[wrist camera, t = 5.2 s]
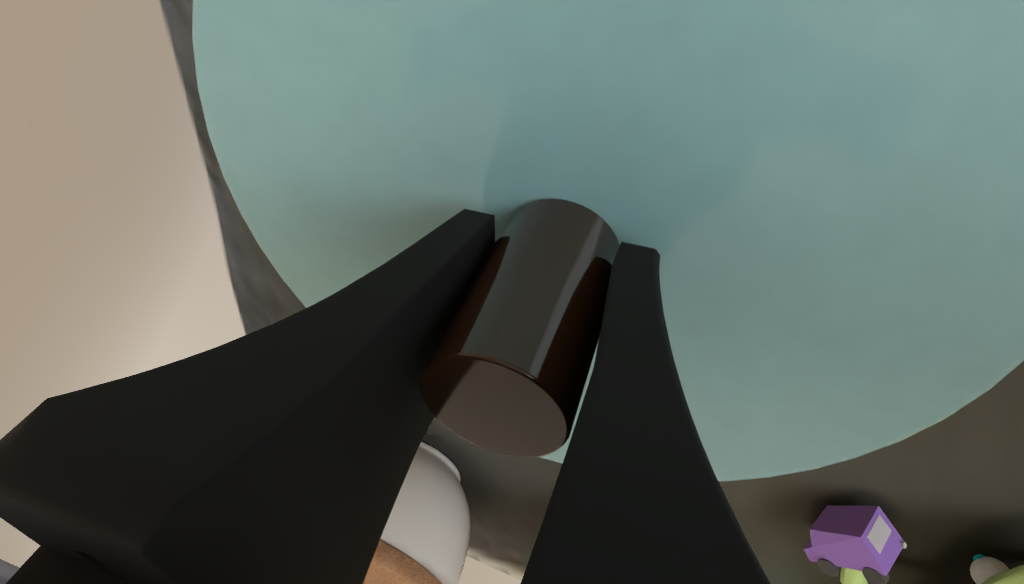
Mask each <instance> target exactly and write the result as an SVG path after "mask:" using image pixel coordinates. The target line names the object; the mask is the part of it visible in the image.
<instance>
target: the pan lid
mask: <svg viewBox="0 0 1024 584" xmlns="http://www.w3.org/2000/svg"><path fill="white" fill-rule="evenodd" d="M192 41H193V50H194V59H195V68H196V77H197V86H198V91H199V96H200V100H201V104H202V109H203V113H204V117H205V122H206V126H207V130H208V134H209V137H210V140H211V143H212V146H213V148H214V151H215V154H216V157H217V160H218V163H219V166H220V169H221V172H222V174H223V177H224V179H225V181H226V183H227V185H228V187H229V190H230V192H231V194H232V196H233V198H234V200H235V203H236V205H237V207H238V209H239V211H240V213H241V215H242V217H243V218H244V220H245V222H246V224H247V225H248V227H249V229H250V231H251V232H252V234H253V236H254V238H255V239H256V241H257V243H258V244H259V246H260V248H261V249H262V251H263V252H264V254H265V255H266V256H267V258H268V259H269V261H270V262H271V264H272V265H273V266H274V268H275V269H276V271H277V272H278V274H279V275H280V276H281V278H282V279H283V281H284V282H285V283H286V284H287V285H288V287H289V288H290V289H291V290H292V291H293V293H294V294H295V295H296V296H297V298H298V299H299V300H300V301H301V302H302V304H303V305H304V306H305V307H306V308H308V307H310V306H312V305H314V304H315V303H317V302H319V301H321V300H323V299H325V298H327V297H329V296H330V295H332V294H334V293H336V292H338V291H339V290H341V289H343V288H344V287H346V286H348V285H349V284H351V283H353V282H354V281H356V280H358V279H359V278H361V277H363V276H364V275H366V274H368V273H369V272H371V271H373V270H374V269H376V268H378V267H379V266H381V265H383V264H384V263H386V262H387V261H389V260H390V259H392V258H393V257H395V256H396V255H398V254H399V253H401V252H402V251H404V250H405V249H407V248H408V247H410V246H411V245H413V244H414V243H416V242H417V241H418V240H420V239H421V238H423V237H424V236H426V235H427V234H429V233H430V232H431V231H433V230H434V229H436V228H437V227H439V226H440V225H442V224H443V223H444V222H446V221H447V220H449V219H450V218H452V217H453V216H455V215H456V214H458V213H459V212H461V211H462V210H464V209H468V210H473V211H478V212H483V213H487V214H492V215H495V244H494V246H493V247H492V249H491V251H490V253H489V254H488V256H487V258H486V260H485V261H484V263H483V265H482V266H481V268H480V270H479V272H478V273H477V275H476V277H475V279H474V280H473V282H472V284H471V286H470V287H469V289H468V291H467V293H466V294H465V296H464V298H463V300H462V301H461V303H460V305H459V307H458V308H457V310H456V312H455V314H454V315H453V317H452V319H451V321H450V322H449V324H448V326H447V328H446V329H445V331H444V333H443V335H442V336H441V338H440V340H439V342H438V343H437V345H436V347H435V349H434V350H433V352H432V354H431V356H430V357H429V359H428V361H427V362H426V364H425V366H424V368H423V369H422V372H421V375H420V382H419V384H420V391H421V395H422V397H423V400H424V402H425V404H426V405H427V407H428V408H429V410H430V411H431V412H432V414H433V415H434V416H435V417H436V418H437V419H438V420H439V421H440V422H441V423H442V424H443V425H445V426H446V427H447V428H448V429H450V430H451V431H452V432H454V433H455V434H457V435H458V436H460V437H462V438H463V439H465V440H467V441H469V442H471V443H473V444H475V445H477V446H479V447H482V448H484V449H487V450H490V451H492V452H496V453H500V454H504V455H509V456H515V457H541V458H544V459H548V460H551V461H555V462H559V463H562V464H563V461H564V458H565V455H566V452H567V449H568V446H569V443H570V440H571V437H572V434H573V430H574V427H575V424H576V421H577V418H578V415H579V412H580V409H581V406H582V403H583V400H584V396H585V393H586V390H587V387H588V384H589V381H590V378H591V375H592V371H593V368H594V363H595V358H596V352H597V347H598V341H599V336H600V330H601V325H602V319H603V313H604V307H605V302H606V296H607V290H608V285H609V279H610V274H611V268H612V264H613V261H614V259H615V256H616V253H617V251H618V248H619V246H620V243H621V242H625V243H630V244H635V245H640V246H644V247H649V248H654V249H656V250H657V251H658V253H659V254H660V255H661V256H660V268H659V273H660V289H661V297H662V305H663V311H664V317H665V322H666V326H667V331H668V336H669V341H670V345H671V349H672V353H673V357H674V361H675V365H676V368H677V372H678V375H679V379H680V382H681V386H682V389H683V392H684V395H685V398H686V401H687V404H688V407H689V410H690V413H691V416H692V418H693V421H694V424H695V426H696V429H697V432H698V434H699V437H700V440H701V442H702V445H703V447H704V449H705V452H706V454H707V457H708V459H709V461H710V464H711V466H712V469H713V471H714V473H715V475H716V478H717V480H718V481H736V480H747V479H757V478H768V477H774V476H780V475H786V474H791V473H797V472H802V471H808V470H813V469H817V468H821V467H824V466H828V465H832V464H835V463H839V462H843V461H846V460H850V459H854V458H857V457H860V456H862V455H865V454H868V453H870V452H873V451H876V450H878V449H881V448H883V447H886V446H889V445H891V444H894V443H897V442H899V441H902V440H904V439H906V438H908V437H910V436H912V435H914V434H916V433H918V432H920V431H922V430H924V429H926V428H928V427H930V426H932V425H934V424H936V423H938V422H940V421H942V420H944V419H946V418H947V417H949V416H950V415H952V414H953V413H955V412H956V411H958V410H959V409H961V408H962V407H964V406H965V405H967V404H968V403H970V402H972V401H973V400H975V399H976V398H978V397H979V396H981V395H982V394H984V393H985V392H987V391H988V390H990V389H991V388H992V387H993V386H995V385H996V384H997V383H998V382H999V381H1001V380H1002V379H1003V378H1004V377H1005V376H1006V375H1008V374H1009V373H1010V372H1011V371H1012V370H1013V369H1015V368H1016V367H1017V366H1018V365H1019V364H1020V363H1022V362H1023V361H1024V0H193V25H192Z"/></svg>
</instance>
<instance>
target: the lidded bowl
mask: <svg viewBox="0 0 1024 584" xmlns="http://www.w3.org/2000/svg"><path fill="white" fill-rule="evenodd" d="M460 481H461V478H460V474H459V471H458V470H457V468H456V467H455V465H454V464H453V463H452V462H451V461H450V460H449V459H448V458H447V457H446V456H445V455H443V454H442V453H441V452H439V451H438V450H436V449H435V448H433V447H431V446H429V445H427V444H425V443H423V442H421V443H420V445H419V447H418V449H417V452H416V454H415V456H414V459H413V461H412V463H411V466H410V468H409V470H408V473H407V475H406V477H405V480H404V482H403V484H402V487H401V489H400V491H399V494H398V496H397V499H396V501H395V504H394V506H393V509H392V511H391V513H390V516H389V518H388V521H387V523H386V526H385V528H384V531H383V533H382V535H381V538H380V541H379V543H378V546H377V548H376V551H375V554H374V556H373V559H372V562H371V564H370V567H369V569H368V572H367V575H366V577H365V580H364V582H363V584H458V581H459V578H460V575H461V572H462V569H463V566H464V562H465V558H466V554H467V550H468V544H469V537H470V513H469V506H468V502H467V499H466V496H465V493H464V490H463V488H462V486H461V484H460Z"/></svg>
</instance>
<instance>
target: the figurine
mask: <svg viewBox="0 0 1024 584" xmlns="http://www.w3.org/2000/svg"><path fill="white" fill-rule="evenodd" d="M810 536H811V539H810V540H809V542H808V543H807V545H806V546H805V548H804V551H805V553H806V555H807V557H808V558H809V560H810V561H814V562H818V564H817V565H818V566H819V568H820V570H821V571H823V572H824V573H825V574H826V575H829V576H831V577H836V576H838V574H839V573H840V571H841V575H840V581H841V583H842V584H869V583H868V582H867V581H866V579H867V580H868V581H869V582H870V583H871V584H886V583H887V582H888V581H889V578H890V576H889V574H888V572H889V571H890V569H891V567H892V565H893V564H894V562H895V560H896V559H897V557H898V555H899V553H900V552H901V550H902V549H906V547H907V545H906V543H905V542H904V540H903V539H902V537H901V536H900V535H899V533H898V532H897V530H896V529H895V528H894V526H893V525H892V524H891V522H890V521H889V519H888V518H887V517H886V515H885V514H884V512H883V511H882V510H881V508H880V507H879V506H834V505H827V506H826V508H825V509H824V510H823V511H822V513H821V514H820V516H819V517H818V519H817V520H816V521H815V523H814V524H813V525H812V527H811V528H810ZM970 574H971V577H972V579H973V580H974V582H975V583H976V584H1024V565H1021V566H1018V567H1016V568H1013V569H1009V568H1008V567H1007V566H1006V565H1005V564H1004V563H1003V562H1001V561H999V560H998V559H996V558H992V557H985V556H984V555H981V554H976V555H975V556H974V557H973V562H972V563H971V566H970Z"/></svg>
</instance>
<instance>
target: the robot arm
mask: <svg viewBox="0 0 1024 584" xmlns="http://www.w3.org/2000/svg"><path fill="white" fill-rule="evenodd" d="M494 244H495V215H492V214H487V213H483V212H478V211H473V210H468V209H464V210H462V211H461V212H459V213H458V214H456V215H455V216H453V217H452V218H450V219H449V220H447V221H446V222H444V223H443V224H442V225H440V226H439V227H437V228H436V229H434V230H433V231H431V232H430V233H429V234H427V235H426V236H424V237H423V238H421V239H420V240H418V241H417V242H416V243H414V244H413V245H411V246H410V247H408V248H407V249H405V250H404V251H402V252H401V253H399V254H398V255H396V256H395V257H393V258H392V259H390V260H389V261H387V262H386V263H384V264H383V265H381V266H379V267H378V268H376V269H374V270H373V271H371V272H369V273H368V274H366V275H364V276H363V277H361V278H359V279H358V280H356V281H354V282H353V283H351V284H349V285H348V286H346V287H344V288H343V289H341V290H339V291H338V292H336V293H334V294H332V295H330V296H329V297H327V298H325V299H323V300H321V301H319V302H317V303H315V304H314V305H312V306H310V307H308V308H305V309H303V310H301V311H299V312H297V313H295V314H293V315H291V316H289V317H287V318H285V319H283V320H281V321H278V322H276V323H274V324H272V325H269V326H267V327H265V328H262V329H260V330H257V331H255V332H253V333H250V334H248V335H245V336H243V337H240V338H238V339H236V340H233V341H231V342H228V343H226V344H224V345H221V346H219V347H216V348H213V349H211V350H208V351H205V352H202V353H199V354H197V355H194V356H191V357H188V358H185V359H182V360H179V361H176V362H173V363H170V364H167V365H165V366H161V367H158V368H155V369H152V370H149V371H146V372H142V373H139V374H136V375H132V376H129V377H125V378H122V379H118V380H114V381H111V382H107V383H104V384H100V385H97V386H93V387H89V388H85V389H82V390H78V391H74V392H71V393H67V394H63V395H59V396H55V397H51V398H47V399H46V400H45V401H44V402H43V403H41V404H40V405H39V406H38V407H37V408H36V409H35V410H34V411H33V412H31V413H30V414H29V415H28V416H27V417H26V418H25V419H24V420H22V421H21V422H20V423H19V424H18V425H17V426H16V427H14V428H13V429H12V430H11V431H10V432H9V433H8V434H6V435H5V436H4V437H3V438H2V439H1V440H0V517H1V518H2V519H4V520H5V521H6V522H8V523H9V524H11V525H12V526H13V527H15V528H17V529H18V530H19V531H21V532H22V533H24V534H25V535H26V536H28V537H29V538H31V539H32V540H34V541H35V542H37V543H38V544H39V545H41V546H40V547H39V548H38V549H37V550H36V551H35V553H34V554H33V555H32V556H31V557H30V558H29V559H28V560H27V561H26V562H25V563H24V564H23V565H22V566H21V568H19V567H17V566H14V565H12V564H9V563H8V562H5V561H3V560H1V559H0V584H363V582H364V580H365V577H366V575H367V572H368V569H369V567H370V564H371V562H372V559H373V556H374V554H375V551H376V548H377V546H378V543H379V541H380V538H381V535H382V533H383V531H384V528H385V526H386V523H387V521H388V518H389V516H390V513H391V511H392V509H393V506H394V504H395V501H396V499H397V496H398V494H399V491H400V489H401V487H402V484H403V482H404V480H405V477H406V475H407V473H408V470H409V468H410V466H411V463H412V461H413V459H414V456H415V454H416V452H417V449H418V447H419V445H420V443H421V441H422V439H423V437H424V435H425V433H426V431H427V429H428V427H429V425H430V424H431V422H432V420H433V418H434V415H433V414H432V412H431V411H430V410H429V408H428V407H427V405H426V404H425V402H424V400H423V397H422V395H421V391H420V384H419V382H420V375H421V372H422V369H423V368H424V366H425V364H426V362H427V361H428V359H429V357H430V356H431V354H432V352H433V350H434V349H435V347H436V345H437V343H438V342H439V340H440V338H441V336H442V335H443V333H444V331H445V329H446V328H447V326H448V324H449V322H450V321H451V319H452V317H453V315H454V314H455V312H456V310H457V308H458V307H459V305H460V303H461V301H462V300H463V298H464V296H465V294H466V293H467V291H468V289H469V287H470V286H471V284H472V282H473V280H474V279H475V277H476V275H477V273H478V272H479V270H480V268H481V266H482V265H483V263H484V261H485V260H486V258H487V256H488V254H489V253H490V251H491V249H492V247H493V246H494ZM660 256H661V255H660V254H659V253H658V251H657V250H656V249H654V248H649V247H644V246H640V245H635V244H630V243H625V242H621V243H620V246H619V248H618V251H617V253H616V256H615V259H614V261H613V264H612V268H611V274H610V279H609V285H608V290H607V296H606V302H605V307H604V313H603V319H602V325H601V330H600V336H599V341H598V347H597V352H596V358H595V363H594V368H593V371H592V375H591V378H590V381H589V384H588V387H587V390H586V393H585V396H584V400H583V403H582V406H581V409H580V412H579V415H578V418H577V421H576V424H575V427H574V430H573V434H572V437H571V440H570V443H569V446H568V449H567V452H566V455H565V458H564V461H563V464H562V467H561V470H560V473H559V476H558V478H557V481H556V484H555V487H554V490H553V493H552V496H551V499H550V502H549V505H548V508H547V511H546V514H545V517H544V520H543V522H542V525H541V528H540V531H539V534H538V536H537V539H536V542H535V545H534V548H533V551H532V553H531V556H530V559H529V562H528V565H527V568H526V570H525V573H524V576H523V579H522V582H521V584H770V582H769V580H768V578H767V577H766V575H765V573H764V571H763V569H762V567H761V566H760V564H759V562H758V560H757V558H756V556H755V554H754V553H753V551H752V549H751V547H750V545H749V543H748V541H747V540H746V538H745V536H744V534H743V532H742V529H741V527H740V525H739V523H738V521H737V519H736V517H735V515H734V513H733V511H732V509H731V507H730V505H729V503H728V500H727V498H726V496H725V494H724V492H723V490H722V488H721V486H720V484H719V482H718V480H717V478H716V475H715V473H714V471H713V469H712V466H711V464H710V461H709V459H708V457H707V454H706V452H705V449H704V447H703V445H702V442H701V440H700V437H699V434H698V432H697V429H696V426H695V424H694V421H693V418H692V416H691V413H690V410H689V407H688V404H687V401H686V398H685V395H684V392H683V389H682V386H681V382H680V379H679V375H678V372H677V368H676V365H675V361H674V357H673V353H672V349H671V345H670V341H669V336H668V331H667V326H666V322H665V317H664V311H663V305H662V297H661V289H660V273H659V268H660Z"/></svg>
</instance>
